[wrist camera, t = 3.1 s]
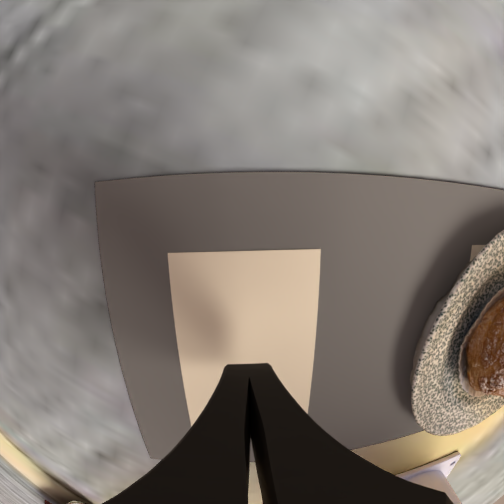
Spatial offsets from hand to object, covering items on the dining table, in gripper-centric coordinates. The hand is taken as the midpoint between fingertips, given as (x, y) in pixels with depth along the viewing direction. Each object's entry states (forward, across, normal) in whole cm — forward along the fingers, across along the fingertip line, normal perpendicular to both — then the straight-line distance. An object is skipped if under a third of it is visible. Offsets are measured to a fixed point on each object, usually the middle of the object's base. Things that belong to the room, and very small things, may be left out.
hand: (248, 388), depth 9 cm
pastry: (+2, -13, +1) cm, 13 cm away
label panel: (+2, -8, 0) cm, 8 cm away
